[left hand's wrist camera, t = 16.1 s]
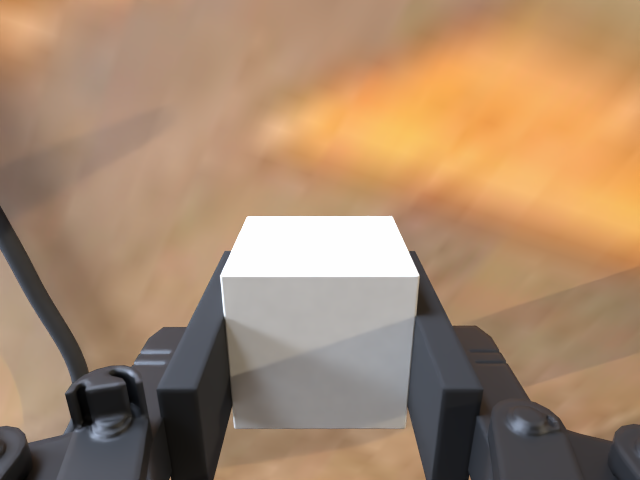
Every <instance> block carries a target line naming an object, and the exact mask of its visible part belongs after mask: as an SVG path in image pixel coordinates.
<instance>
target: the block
mask: <svg viewBox="0 0 640 480" xmlns="http://www.w3.org/2000/svg"><path fill="white" fill-rule="evenodd" d="M419 278H420V276H419V273H418V271H417V269H416V267H415V265H414V262H413V260H412V258H411V256H410V254H409V252H408V249H407V247H406V245H405V243H404V241H403V239H402V236H401V234H400V232H399V230H398V228H397V226H396V223H395V221H394V219H393V217H391V216H379V217H247V219H246V221H245V223H244V225H243V227H242V230H241V232H240V234H239V236H238V238H237V240H236V243H235V245H234V247H233V249H232V251H231V254H230V256H229V258H228V260H227V262H226V265H225V267H224V269H223V271H222V273H221V276H220V279H221V289H222V300H223V311H224V320H225V331H226V342H227V353H228V363H229V374H230V385H231V396H232V408H233V419H234V427H235V429H404V428H405V427H406V419H407V408H408V406H407V404H408V394H409V383H410V372H411V361H412V350H413V339H414V328H415V318H416V311H417V300H418V289H419Z"/></svg>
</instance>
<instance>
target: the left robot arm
mask: <svg viewBox="0 0 640 480" xmlns="http://www.w3.org/2000/svg"><path fill="white" fill-rule="evenodd" d="M0 249H1V251H2V253H3V255H4V257H5V258H6V260H7V262H8V264H9V266H10V267H11V269H12V271H13V273H14V275H15V277H16V278H17V280H18V282H19V284H20V286H21V288H22V290H23V291H24V293H25V295H26V297H27V298H28V300H29V302H30V304H31V305H32V307H33V308H34V310H35V312H36V313H37V315H38V316H39V318H40V320H41V321H42V323H43V324H44V326H45V327H46V329H47V331H48V332H49V334H50V335H51V337H52V338H53V340H54V342H55V343H56V345H57V347H58V349H59V350H60V352H61V354H62V356H63V358H64V360H65V362H66V365H67V367H68V370H69V373H70V376H71V380H72V384H71V386H70V387H69V389H68V390H67V392H66V393H65V396H66V399H67V403H68V407H69V411H70V415H71V420H70V422H69V425H68V427H67V429H66V430H65V432H64V434H63V435H60V436H56V437H52V438H48V439H44V440H39V441H35V442H31V443H28V442H27V439H26V436H25V434H24V433H23V432H22V431H21V430H20V429H19V428H15V427H10V426H2V427H0V480H169V479H170V476H171V480H213V479H214V475H215V471H216V468H217V464H218V460H219V456H220V452H221V448H222V444H223V440H224V436H225V432H226V428H227V424H228V420H229V416H230V412H231V408H232V396H231V385H230V374H229V363H228V353H227V342H226V331H225V320H224V311H223V300H222V289H221V279H220V276H221V273H222V271H223V269H224V267H225V265H226V262H227V260H228V258H229V256H230V254H231V251H225V252H224V254H223V256H222V258H221V260H220V262H219V264H218V266H217V268H216V270H215V272H214V274H213V276H212V278H211V280H210V282H209V284H208V286H207V288H206V290H205V292H204V294H203V296H202V298H201V300H200V302H199V304H198V306H197V308H196V310H195V312H194V314H193V316H192V318H191V320H190V322H189V324H188V326H187V327H163V328H162V329H161V330H159V331H158V332H157V333H155V334H154V335H153V336H151V337H150V338H149V339H148V341H147V342H146V344H145V345H144V347H143V349H142V350H141V354H139V355H138V357H137V358H136V360H135V362H134V365H132V367H128V366H125V365H124V366H108V367H104V368H100V369H96V370H94V371H92V372H90V373H89V372H88V368H87V365H86V362H85V359H84V357H83V354H82V352H81V350H80V348H79V345H78V343H77V342H76V340H75V338H74V336H73V334H72V333H71V331H70V329H69V328H68V326H67V324H66V323H65V321H64V319H63V318H62V316H61V315H60V313H59V311H58V310H57V308H56V306H55V305H54V303H53V302H52V300H51V298H50V296H49V295H48V293H47V291H46V289H45V288H44V286H43V284H42V282H41V280H40V278H39V276H38V274H37V272H36V270H35V269H34V267H33V265H32V263H31V261H30V259H29V257H28V255H27V253H26V251H25V250H24V248H23V246H22V244H21V242H20V240H19V239H18V237H17V235H16V233H15V231H14V230H13V228H12V226H11V224H10V222H9V221H8V219H7V217H6V215H5V214H4V212H3V210H2V208H1V206H0ZM408 252H409V254H410V256H411V258H412V260H413V262H414V265H415V267H416V269H417V271H418V273H419V276H420V278H419V289H418V300H417V311H416V318H415V328H414V339H413V350H412V361H411V372H410V383H409V394H408V404H407V406H408V410H409V414H410V418H411V422H412V425H413V429H414V433H415V437H416V441H417V445H418V449H419V453H420V457H421V461H422V465H423V469H424V473H425V477H426V480H468V479H469V475H470V477H471V480H640V425H637V424H631V425H626V426H622V427H620V428H619V429H618V430H617V431H616V432H615V435H614V438H613V441H608V440H604V439H600V438H595V437H591V436H587V435H583V434H579V433H576V432H572V431H569V430H566V428H565V426H564V425H563V423H562V422H561V420H560V418H558V417H557V416H556V415H555V414H554V413H553V412H551V411H550V410H549V409H547V408H545V407H543V406H541V405H539V404H537V403H535V402H532V401H530V399H529V398H528V396H527V394H526V393H525V391H524V389H523V388H522V386H521V385H520V383H519V381H518V380H517V378H516V377H515V375H514V373H513V372H512V370H511V368H510V367H509V365H508V364H506V360H505V359H504V357H503V356H502V354H501V353H499V349H498V347H497V346H496V344H495V343H494V341H493V339H492V338H491V337H490V336H489V335H488V334H486V333H485V332H484V331H482V330H481V329H480V328H478V327H477V326H452V325H451V323H450V321H449V319H448V317H447V315H446V313H445V311H444V309H443V307H442V305H441V303H440V301H439V299H438V297H437V295H436V293H435V291H434V289H433V287H432V285H431V283H430V281H429V279H428V277H427V275H426V273H425V271H424V269H423V267H422V265H421V263H420V260H419V258H418V256H417V254H416V252H415V251H408Z"/></svg>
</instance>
